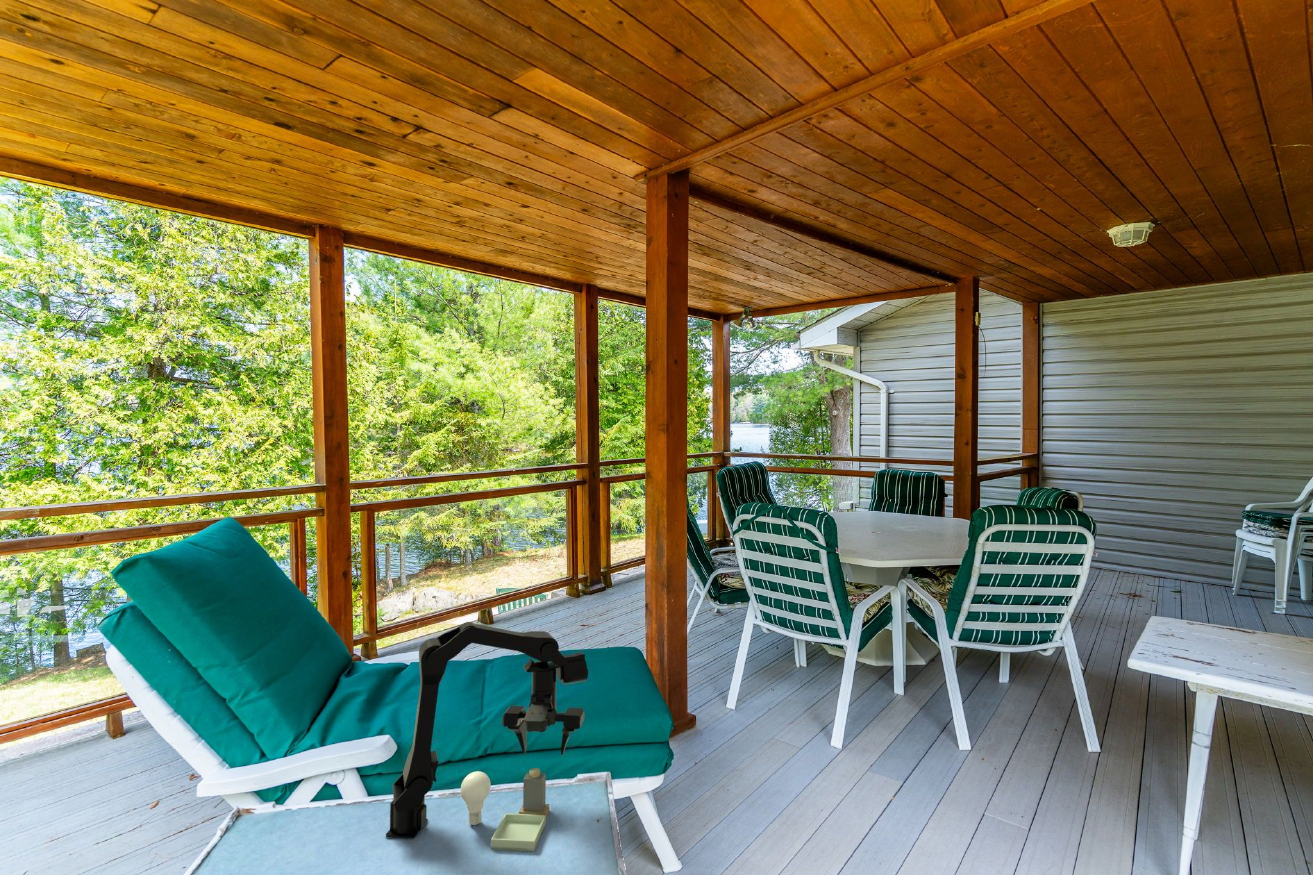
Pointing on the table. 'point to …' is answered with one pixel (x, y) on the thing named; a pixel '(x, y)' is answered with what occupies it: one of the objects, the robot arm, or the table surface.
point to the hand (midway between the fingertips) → (543, 753)
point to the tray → (518, 832)
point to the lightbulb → (475, 794)
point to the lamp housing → (534, 794)
